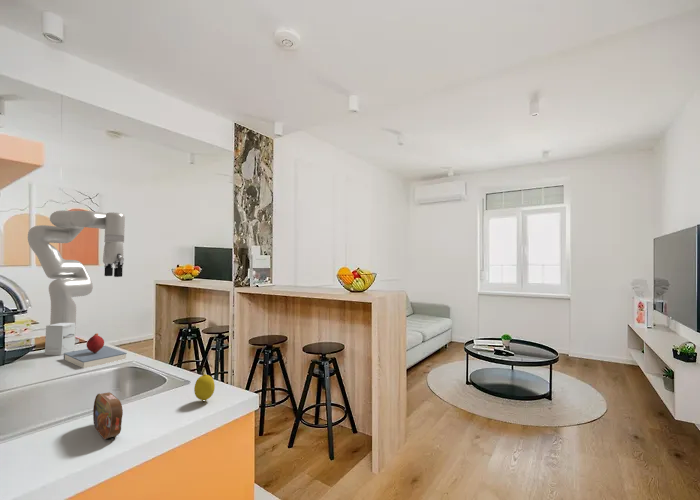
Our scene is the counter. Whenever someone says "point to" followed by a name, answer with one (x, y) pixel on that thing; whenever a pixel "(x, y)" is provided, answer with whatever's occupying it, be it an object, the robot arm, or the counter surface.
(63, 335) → the supplement box
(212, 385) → the lemon
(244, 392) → the counter surface
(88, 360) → the book
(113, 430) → the tin
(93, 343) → the onion
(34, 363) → the counter surface
